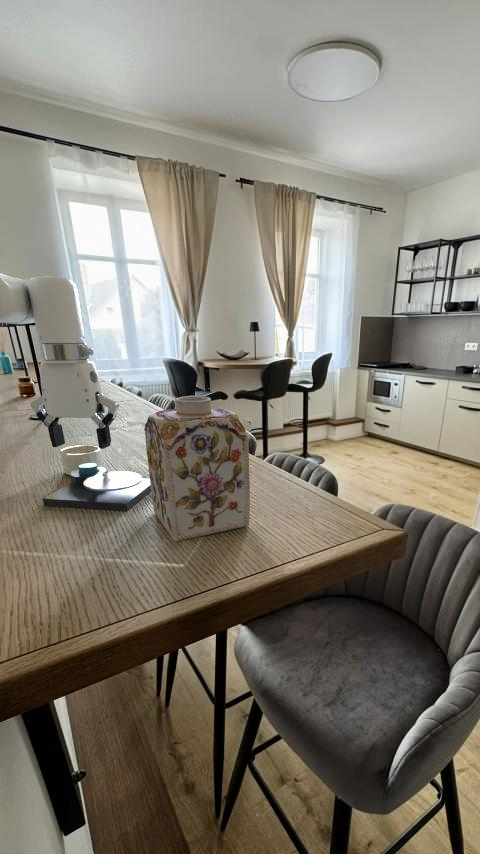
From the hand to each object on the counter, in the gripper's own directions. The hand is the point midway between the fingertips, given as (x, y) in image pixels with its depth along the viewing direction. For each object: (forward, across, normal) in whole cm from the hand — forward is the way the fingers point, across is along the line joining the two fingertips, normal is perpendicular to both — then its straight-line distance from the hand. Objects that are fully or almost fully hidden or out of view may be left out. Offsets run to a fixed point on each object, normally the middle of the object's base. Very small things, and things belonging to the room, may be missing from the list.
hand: (82, 446), depth 81 cm
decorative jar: (+6, -30, +19) cm, 36 cm away
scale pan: (+2, -13, +13) cm, 19 cm away
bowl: (+5, 0, 0) cm, 5 cm away
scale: (+5, -10, +12) cm, 17 cm away
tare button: (+3, -6, +9) cm, 11 cm away
